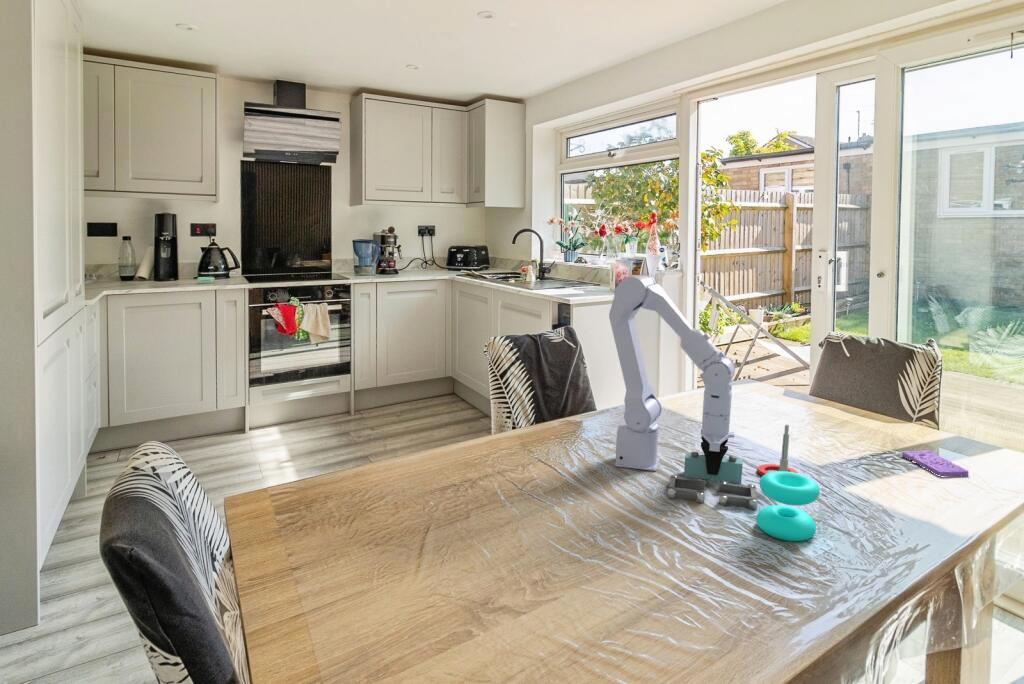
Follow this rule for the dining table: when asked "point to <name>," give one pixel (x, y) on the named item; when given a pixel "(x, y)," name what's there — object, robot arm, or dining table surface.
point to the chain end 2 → (735, 499)
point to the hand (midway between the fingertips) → (712, 471)
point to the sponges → (935, 463)
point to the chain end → (686, 493)
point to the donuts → (786, 518)
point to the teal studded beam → (727, 471)
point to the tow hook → (783, 460)
